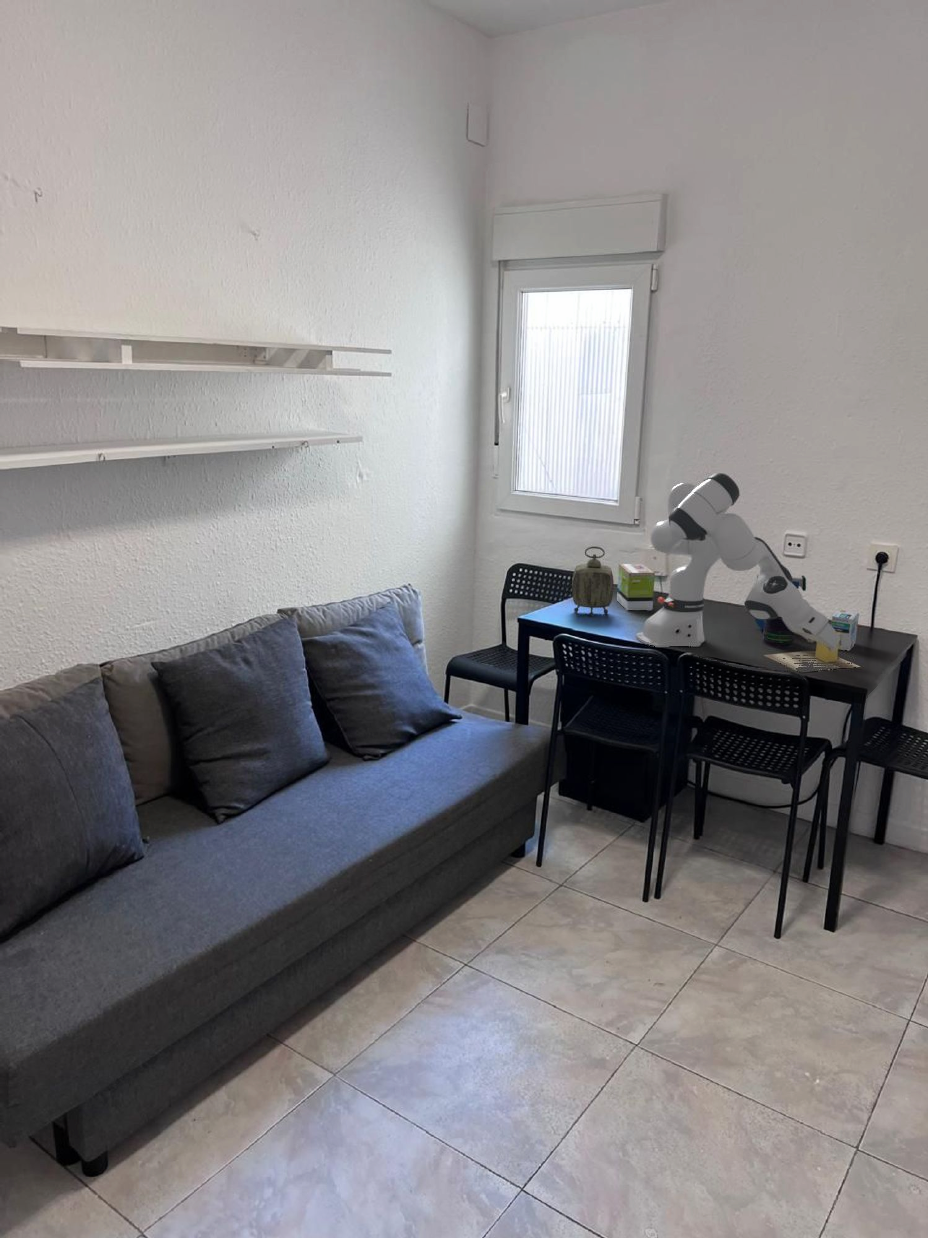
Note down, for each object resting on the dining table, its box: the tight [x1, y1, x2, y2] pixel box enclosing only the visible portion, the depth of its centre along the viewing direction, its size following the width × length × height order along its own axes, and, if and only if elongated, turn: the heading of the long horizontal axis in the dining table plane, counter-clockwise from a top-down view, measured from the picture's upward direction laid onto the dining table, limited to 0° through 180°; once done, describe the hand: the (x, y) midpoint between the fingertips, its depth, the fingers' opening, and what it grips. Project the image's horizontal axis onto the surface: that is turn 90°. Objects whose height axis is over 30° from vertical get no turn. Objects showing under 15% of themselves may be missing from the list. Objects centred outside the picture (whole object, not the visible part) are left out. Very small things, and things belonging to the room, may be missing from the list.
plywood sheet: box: [763, 650, 861, 672], centre depth 291 cm, size 22×18×1 cm
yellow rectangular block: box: [815, 631, 840, 662], centre depth 291 cm, size 4×5×9 cm
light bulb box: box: [830, 609, 860, 652], centre depth 306 cm, size 11×7×11 cm, turn 148°
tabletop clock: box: [571, 546, 615, 617], centre depth 335 cm, size 14×9×25 cm, turn 84°
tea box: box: [616, 563, 656, 611], centre depth 350 cm, size 15×10×15 cm
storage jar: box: [762, 617, 796, 649], centre depth 307 cm, size 10×10×15 cm
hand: (822, 645), depth 290 cm, fingers open, 8 cm apart
